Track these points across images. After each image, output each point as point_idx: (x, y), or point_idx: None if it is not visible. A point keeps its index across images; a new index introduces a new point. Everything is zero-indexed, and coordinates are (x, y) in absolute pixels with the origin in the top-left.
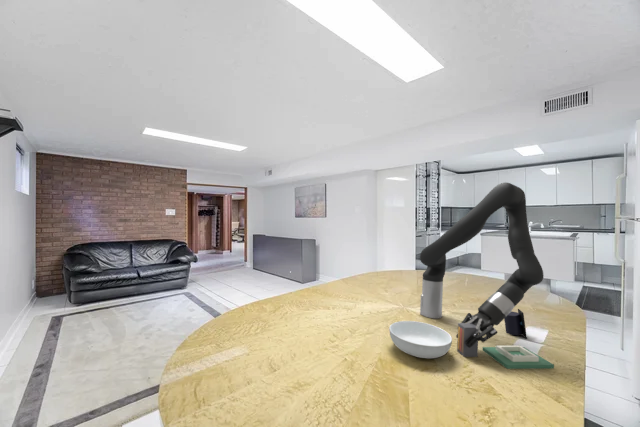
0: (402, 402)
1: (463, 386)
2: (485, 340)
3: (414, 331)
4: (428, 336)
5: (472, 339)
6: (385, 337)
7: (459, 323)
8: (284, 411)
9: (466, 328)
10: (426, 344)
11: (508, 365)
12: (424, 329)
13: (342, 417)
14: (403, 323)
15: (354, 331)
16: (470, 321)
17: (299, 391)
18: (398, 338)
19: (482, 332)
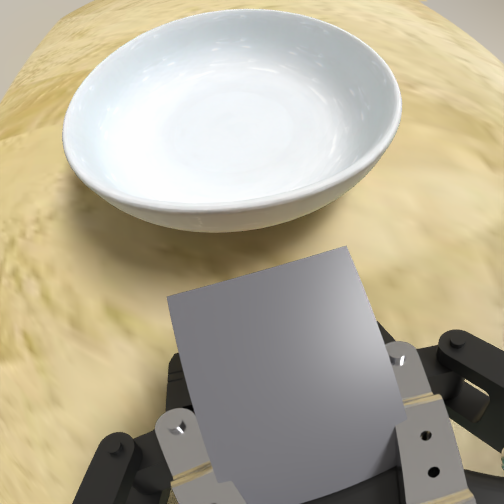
0: (5, 131)
1: (6, 258)
2: (133, 493)
3: (359, 102)
4: (350, 157)
5: (172, 395)
6: None
7: (334, 262)
8: (42, 48)
9: (174, 328)
10: (286, 157)
11: None
12: (376, 124)
13: (13, 85)
14: (345, 43)
15: None
16: (425, 445)
17: (69, 38)
18: (148, 34)
19: (104, 495)
